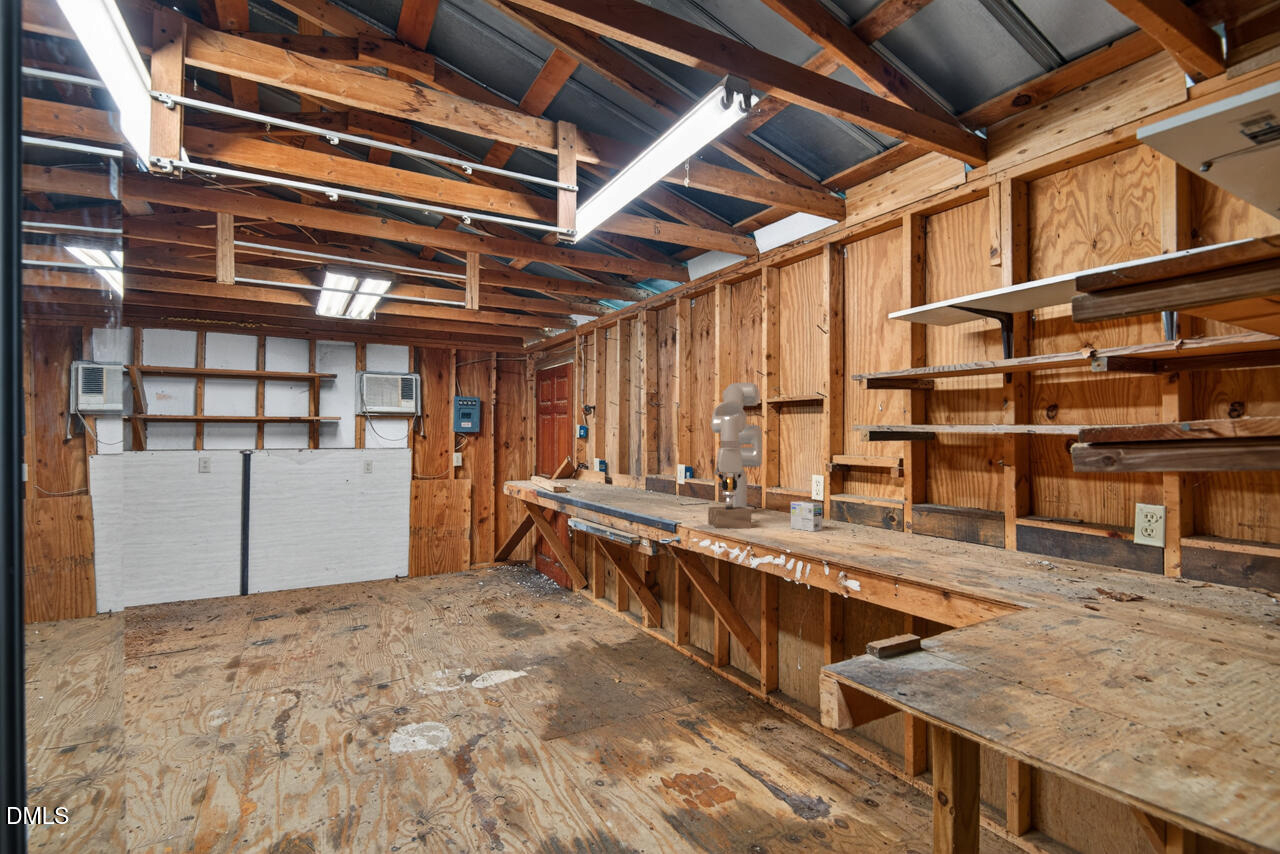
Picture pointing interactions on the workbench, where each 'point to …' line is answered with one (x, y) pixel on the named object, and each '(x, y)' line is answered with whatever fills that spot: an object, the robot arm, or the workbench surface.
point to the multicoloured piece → (729, 493)
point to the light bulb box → (806, 516)
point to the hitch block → (729, 517)
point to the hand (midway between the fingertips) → (729, 489)
